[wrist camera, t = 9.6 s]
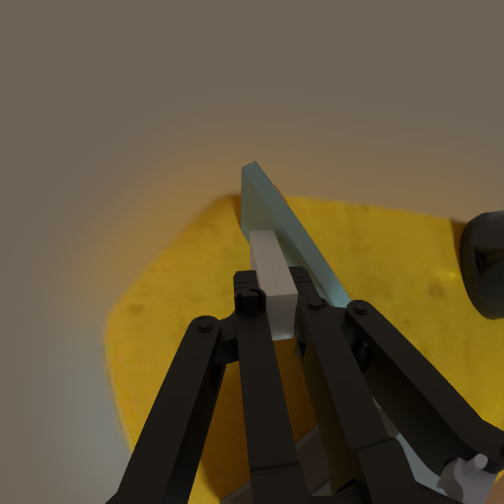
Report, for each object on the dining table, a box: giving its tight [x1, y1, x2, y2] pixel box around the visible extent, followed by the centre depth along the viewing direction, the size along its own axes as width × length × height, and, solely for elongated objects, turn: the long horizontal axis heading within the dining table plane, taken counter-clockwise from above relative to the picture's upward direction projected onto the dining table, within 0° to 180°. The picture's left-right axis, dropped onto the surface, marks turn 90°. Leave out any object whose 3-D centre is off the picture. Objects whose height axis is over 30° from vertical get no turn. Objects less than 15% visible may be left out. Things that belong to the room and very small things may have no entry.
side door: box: [241, 161, 381, 409], centre depth 20 cm, size 19×2×11 cm, turn 31°
